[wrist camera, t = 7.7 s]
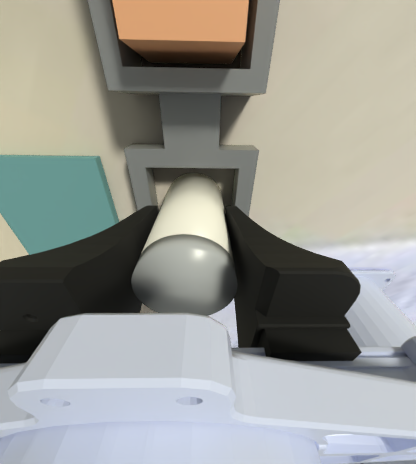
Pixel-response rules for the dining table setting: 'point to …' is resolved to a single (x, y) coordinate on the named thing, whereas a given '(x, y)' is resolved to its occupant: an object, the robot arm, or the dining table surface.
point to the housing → (189, 102)
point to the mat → (54, 199)
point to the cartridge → (187, 252)
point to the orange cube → (183, 29)
